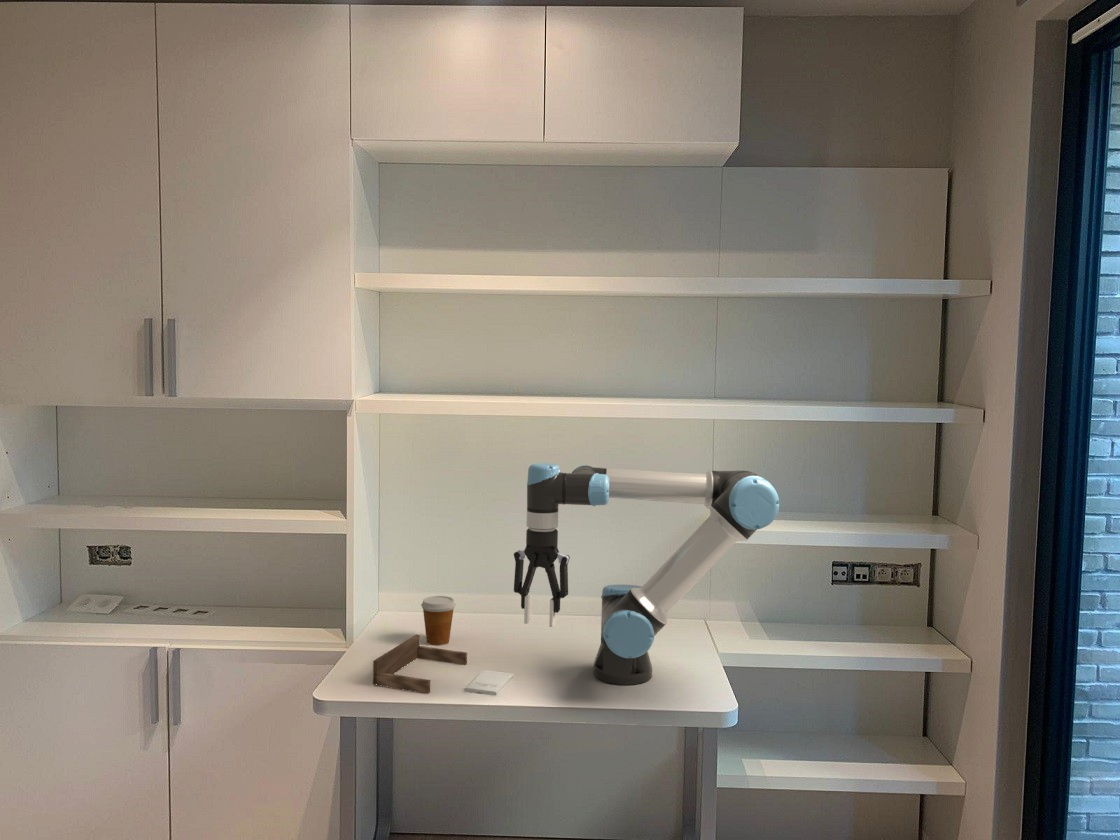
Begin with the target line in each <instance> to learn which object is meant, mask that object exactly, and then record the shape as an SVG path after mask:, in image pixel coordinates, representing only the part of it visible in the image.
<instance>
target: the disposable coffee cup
mask: <svg viewBox="0 0 1120 840" xmlns="http://www.w3.org/2000/svg"><path fill="white" fill-rule="evenodd" d="M420 605H421V608H422V613H423V619H424V621H423V622H424V629H425V638H426V639H425V640H426V643H427V644H428V645H431V646H443V645H447V644H449V643H450V638H451V630H452V622H453V615H454V609H455V607H456V602H455V599H454V598H453V597H451V596H445V595H433V596H428V597H425V598H423V599H422V603H421V604H420Z"/></svg>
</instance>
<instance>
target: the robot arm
mask: <svg viewBox="0 0 1120 840" xmlns="http://www.w3.org/2000/svg"><path fill="white" fill-rule="evenodd" d="M527 469H528V470H527V483H526V485H527V486H526V528H527V529H526V532H525V533H526V540H525V541H526V542H525V543H526V545H525V547H524V549H523V550H521V549H520V550H516V551H515V552H514V553H513V558H514V562H515V563H514V579H513V580H514V581H513V582H514V583H513V592H514V593H515V594H516V593H517V594H519V595H520V596H521V597H520V602H521V603H520V607H521V609H523V610H524V614H523V615H524V617H523V618H524V621H523V622H524V623H523V624H525V625H528V624H529V623H530V622H531V621H532V601H533V598H532V597H533V596H532V595H533V594H531V593H530V592H531V591H530V590H531V589H530V588H531V586H532V583H533V580H534V576H535V574H536V571H537V569H538V568H542V569H544V570H545V573H546V575H547V579H548V583H549V588H550V591H551V596H552V598H551V599H550V598H549V622H548V624H549V626H548V627H550V628H553V627H555V626H556V624H557V614H558V613H559V612H560V610H561V599H564V598H565V597H567V596H568V595H569V576H568V575H569V573H568V571H569V570H568V569H569V568H568V565H569V562H570V558H571V557H570V555H568V554H566V555H565V554H563V553H560V551H559V548H558V542H559V541H558V540H559V538H558V537H559V531H558V529H557V528H559V506H560V505H572V506H573V505H577V506H592V507H595V506H606V505H608V503H609V499H618V500H619V499H620V500H632V501H633V500H635V501H636V500H637V501H649V502H650V501H652V502H662V503H663V502H664V503H680V504H683V503H684V504H694V505H695V504H697V505H704V506H705V507H706V509H709V516H708V517H707V518H706V519H705V520H704V521H703V523H701V524H700V526H699V527H698V528H697V529H695V531H694V532H693V533H692V534H691V535H690V536H688V538H687V539H686V540H685V541H684V542H683V543H682V544H681V545H680V546H679V548H677V549H676V550H675V552H674V553H673V554H671V556H670V557H669V558H668V559H667V560H666V561H665V562H664V563H663V564H662V565H661V566H660V568H658V569H657V570H656V571H655V572H654V574H652V576H650V578H649V579H648V580H647V581H646V582H645V583H644V584H643V585H642V586H640V585H634V584H609V585H605V586H604V587H603V588H602V591H601V593H602V594H601V596H600V597H601V618H600V619H601V623H600V624H601V625H600V645H599V647H598V651H597V653H596V656H595V659H594V661H593V667H592V674H593V676H594V677H595V678H596V679H598V680H600V681H602V682H605V683H609V684H613V685H621V686H624V685H626V686H628V685H640V684H643V683H646V682H648V681H650V680H651V679H652V677H653V664H652V662H651V657H650V654H649V650H650V649H651V647H652V645H653V643H654V641H655V636H656V635H657V634H658V633H659V632H660V631H661V630H662V629H663V628H664V627H665V626H666V625H667V623H668V613H669V612H670V611H671V610H673V608H674V607H675V606H676V605H677V604H678V603H679V602H680V601H681V600H682V599H683V598H684V597H685V596H686V594H688V593H689V592H690V591H691V589H692V588H693V587H694V586H695V585H696V584H697V583H698V582H699V581H700V580H702V578H703V577H704V576H706V574H707V573H708V572H709V571H710V570H711V568H713V566H714V565H715V564H716V563H718V562H719V560H720V559H721V558H723V556H724V555H725V554H726V553H727V552H728V551H729V550H730V549H731V548H732V547H733V546H734V545H735V544H736V543H737V542H740V541H743V542H744V541H745V542H746V541H748V540H749V539H750V538H751V537H752V535H754V534H755V533H756V531H757V530H761V529H763V528H764V529H765V528H766V527H768V526H770V524H772V523H773V522H774V521H775V519H776V517H777V515H778V513H779V509H780V499H779V495H778V493H777V490H776V489H775V487H774V486H773V485H772V484H771V483H770V481H768V480H767V479H766V478H764V477H761V476H760V475H759V474H756V473H755V472H752V471H749V470H708V471H707V472H706V473H693V472H692V473H691V472H690V473H689V472H688V473H687V472H675V471H674V472H671V471H657V470H642V469H629V468H628V469H627V468H625V469H623V468H611V467H609V468H608V467H606V468H605V467H593V466H591V465H587V464H584V465H579V466H577V467H576V468H575V469H573V471H572V472H569V473H567V472H561V469H560V465H558V464H556V463H547V462H546V463H545V462H540V463H533V464H531V465H530V466H529V467H528V468H527ZM525 557H526V558H527V560H528V561H529V563H528V566H527V572H526V574H525V578H524V562H525V561H524V560H525ZM556 560H558V564H559V582H558V578H557V573H556V569H555V568H556V567H555V563H554V562H555V561H556ZM523 578H524V580H523ZM523 581H524V582H523Z"/></svg>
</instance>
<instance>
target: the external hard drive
mask: <svg viewBox="0 0 1120 840" xmlns="http://www.w3.org/2000/svg"><path fill="white" fill-rule="evenodd" d="M512 679H514V673H511V672H501V671H493V670H486V669H484V670H482V671H481V672H480V673H479V674H478V675H477V676H476V677H475V678H474V679H473V680H471V682H470V683H468V685H466V686H465V688H464V692H466V693H475V694H483V695H487V696H488V695H490V696H495V697H496V696H498V694H500V692H501V691H502V690H503V689H504V688H505V687H506V686H507V685H508V683H510V682H511V681H512Z"/></svg>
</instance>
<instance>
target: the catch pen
mask: <svg viewBox="0 0 1120 840" xmlns="http://www.w3.org/2000/svg"><path fill="white" fill-rule="evenodd" d="M420 642H421V641H420V634H415V635H413V636H411V637H409V638H408V639H407V640H405V641H403V642H402V643H399V645H397V646H395V647H393V648H392V649H391V650H389V651H387V652H386V653H384V654H382V655H380V656H379V657H377V658H375V659H374V660H372V661H373V662H372V665H373V667H372V672H373V673H372V685H373V684H377V685H382V686H381V687H383V686H388V687H387V688H389V687H392V689H396V688H397V690H402V689H404V690H403V691H408V690H411V691H410V692H414V691H416V692H415V693H422V694H431V679H424V678H421V677H420V678H419V677H413V676H407V675H401V674H400V675H399V674H396V673H397V672H399V671H400V670H402V669H403V668H405V667H406V666H408V665H409V664H410V662H411V663H412V662H414V661H416V659H423V660H428V661H435V662H436V661H437V662H441V663H442V662H443V663H450V664H457V665H462V666H463V665H464V666H466V665H467V664H468V652H464V651H460V650H459V651H458V650H452V649H445V648H438V647H432V646H431V647H430V646H424V645H420V644H421V643H420ZM413 660H414V661H413ZM407 664H408V665H407ZM404 666H405V667H404ZM402 667H403V668H402ZM401 668H402V669H401ZM398 670H399V671H398ZM395 672H396V673H395ZM394 673H395V674H394ZM377 685H376V686H377Z"/></svg>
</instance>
